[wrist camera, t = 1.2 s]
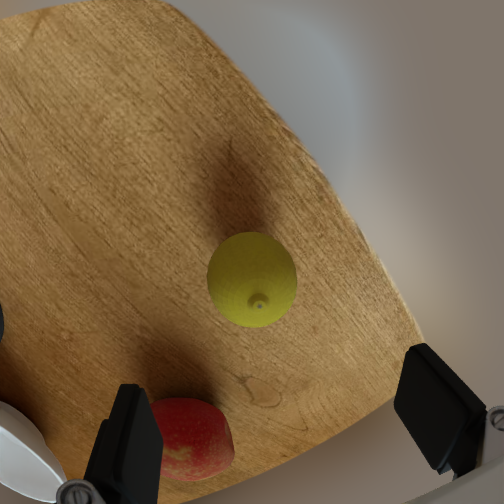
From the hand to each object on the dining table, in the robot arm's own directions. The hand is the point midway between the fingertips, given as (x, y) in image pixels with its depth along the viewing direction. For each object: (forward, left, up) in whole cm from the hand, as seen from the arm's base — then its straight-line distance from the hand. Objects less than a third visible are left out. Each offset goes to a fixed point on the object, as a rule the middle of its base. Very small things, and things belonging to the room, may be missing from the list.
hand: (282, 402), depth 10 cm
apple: (+16, -4, -15) cm, 22 cm away
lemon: (0, 0, -15) cm, 15 cm away
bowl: (+25, -28, -15) cm, 40 cm away
